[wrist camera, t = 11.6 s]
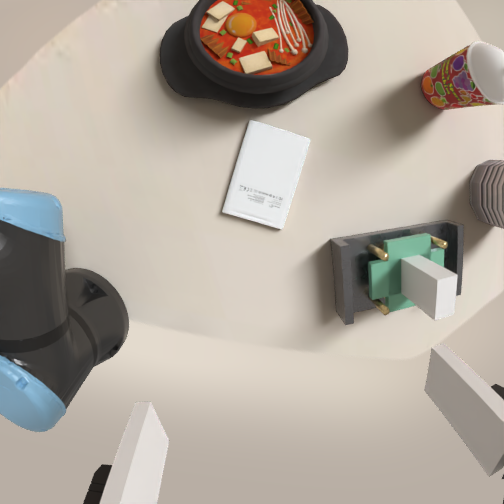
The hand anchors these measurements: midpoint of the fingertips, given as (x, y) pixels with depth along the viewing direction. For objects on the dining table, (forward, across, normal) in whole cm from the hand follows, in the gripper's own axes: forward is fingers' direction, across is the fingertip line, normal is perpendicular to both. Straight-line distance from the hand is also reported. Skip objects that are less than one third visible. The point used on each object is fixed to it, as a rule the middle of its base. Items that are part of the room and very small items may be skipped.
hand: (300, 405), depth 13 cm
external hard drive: (+31, +3, +9) cm, 33 cm away
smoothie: (+30, +31, +20) cm, 48 cm away
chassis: (+30, +20, -6) cm, 37 cm away
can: (+30, +41, +3) cm, 51 cm away
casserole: (+31, +4, +27) cm, 41 cm away
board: (+27, +20, -6) cm, 34 cm away
